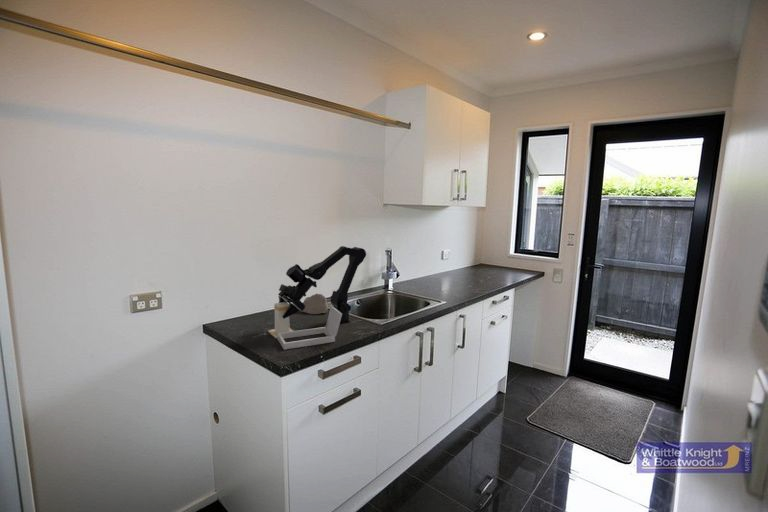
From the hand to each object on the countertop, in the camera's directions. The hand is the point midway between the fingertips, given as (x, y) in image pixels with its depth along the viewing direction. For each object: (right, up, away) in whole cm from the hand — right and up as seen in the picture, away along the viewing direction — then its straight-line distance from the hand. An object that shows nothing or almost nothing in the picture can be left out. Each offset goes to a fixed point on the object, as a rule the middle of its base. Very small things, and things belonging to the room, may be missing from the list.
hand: (279, 315), depth 167 cm
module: (+1, -8, +2) cm, 8 cm away
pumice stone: (+10, -4, +35) cm, 36 cm away
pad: (+1, -8, +2) cm, 9 cm away
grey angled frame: (+15, -10, -5) cm, 19 cm away
